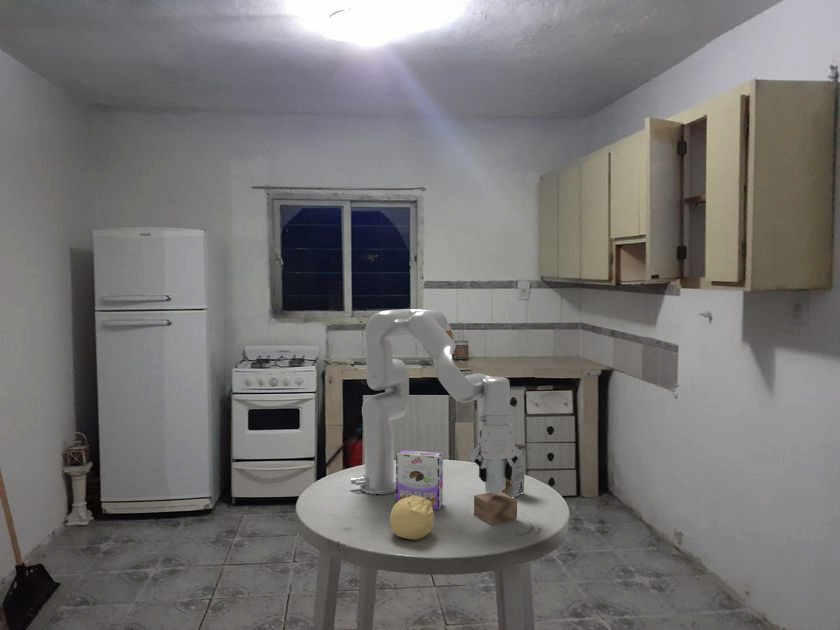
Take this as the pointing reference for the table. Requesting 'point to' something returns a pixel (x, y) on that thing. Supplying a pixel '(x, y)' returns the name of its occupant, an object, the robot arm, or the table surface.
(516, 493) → the coffee box
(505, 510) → the brown cardboard box
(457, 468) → the table surface
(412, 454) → the candy box
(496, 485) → the skincare box
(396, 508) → the pale yellow round lump
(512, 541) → the table surface
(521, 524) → the table surface
